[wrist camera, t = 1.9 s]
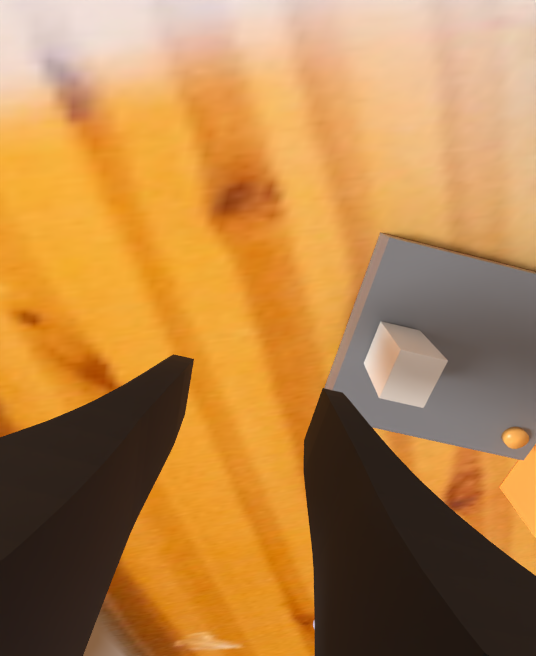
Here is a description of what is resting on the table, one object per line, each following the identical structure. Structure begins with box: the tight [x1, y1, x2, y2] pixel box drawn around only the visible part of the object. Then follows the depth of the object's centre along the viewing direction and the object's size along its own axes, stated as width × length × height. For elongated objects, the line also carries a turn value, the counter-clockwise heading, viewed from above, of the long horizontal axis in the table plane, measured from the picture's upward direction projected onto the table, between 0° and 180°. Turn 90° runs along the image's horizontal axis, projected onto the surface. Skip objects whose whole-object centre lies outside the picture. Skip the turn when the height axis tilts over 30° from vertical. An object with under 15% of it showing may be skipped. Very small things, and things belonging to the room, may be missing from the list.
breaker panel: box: [325, 233, 536, 460], centre depth 17 cm, size 10×12×2 cm
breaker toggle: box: [364, 321, 448, 408], centre depth 15 cm, size 2×2×3 cm
